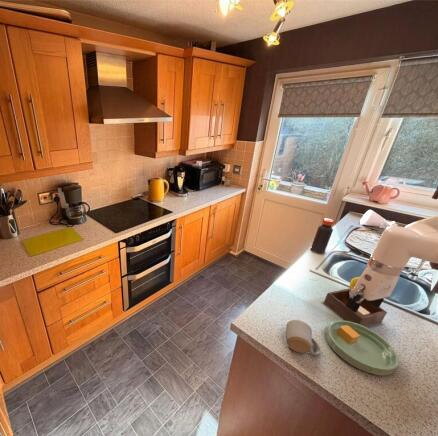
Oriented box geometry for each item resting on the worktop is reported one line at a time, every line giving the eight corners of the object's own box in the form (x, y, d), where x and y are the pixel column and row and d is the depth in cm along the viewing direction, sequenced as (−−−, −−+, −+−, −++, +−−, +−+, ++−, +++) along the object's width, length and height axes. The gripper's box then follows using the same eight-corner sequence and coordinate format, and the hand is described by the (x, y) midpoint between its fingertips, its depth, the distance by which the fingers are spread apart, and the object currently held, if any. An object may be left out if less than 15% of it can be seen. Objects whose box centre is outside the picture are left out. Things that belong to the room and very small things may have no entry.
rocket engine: (405, 217, 156) (373, 207, 162) (400, 231, 153) (368, 220, 160) (392, 224, 166) (363, 213, 173) (388, 237, 163) (358, 226, 170)
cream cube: (354, 310, 94) (358, 304, 93) (366, 319, 90) (370, 313, 89) (348, 312, 93) (351, 305, 92) (359, 321, 89) (363, 314, 88)
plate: (351, 322, 90) (354, 316, 88) (408, 368, 74) (414, 361, 72) (313, 332, 86) (316, 325, 84) (365, 383, 70) (370, 375, 68)
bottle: (325, 254, 132) (338, 223, 124) (312, 252, 134) (323, 221, 126) (322, 248, 138) (334, 218, 129) (309, 246, 140) (319, 217, 132)
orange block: (343, 331, 85) (347, 324, 84) (356, 342, 81) (360, 335, 80) (336, 333, 85) (339, 326, 83) (349, 344, 81) (352, 337, 79)
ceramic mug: (283, 348, 80) (290, 333, 76) (283, 330, 86) (289, 316, 83) (320, 363, 75) (328, 348, 72) (317, 343, 82) (325, 328, 79)
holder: (346, 298, 102) (351, 287, 99) (380, 323, 90) (387, 312, 87) (323, 303, 99) (327, 292, 96) (355, 329, 87) (362, 318, 84)
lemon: (364, 292, 104) (371, 278, 101) (359, 297, 102) (367, 283, 98) (349, 286, 109) (355, 272, 105) (344, 290, 106) (351, 276, 102)
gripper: (377, 277, 65) (353, 320, 72) (420, 269, 69) (394, 310, 76) (350, 261, 72) (331, 302, 79) (391, 255, 76) (369, 294, 83)
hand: (362, 306), depth 78 cm, fingers open, 9 cm apart
